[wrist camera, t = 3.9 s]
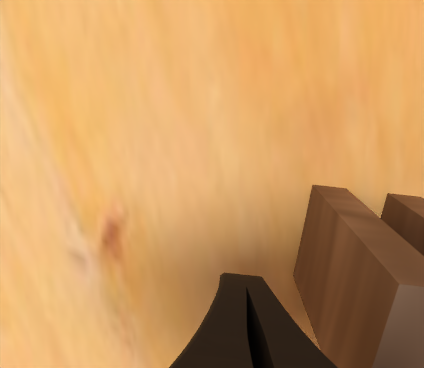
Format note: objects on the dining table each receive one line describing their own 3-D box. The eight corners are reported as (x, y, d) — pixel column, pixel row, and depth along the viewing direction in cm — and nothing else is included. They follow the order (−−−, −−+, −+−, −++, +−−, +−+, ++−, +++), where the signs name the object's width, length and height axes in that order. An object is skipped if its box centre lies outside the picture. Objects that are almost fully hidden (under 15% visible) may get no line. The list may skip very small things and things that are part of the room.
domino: (293, 275, 17) (350, 432, 10) (312, 184, 16) (399, 284, 8) (323, 279, 17) (405, 437, 10) (345, 188, 16) (464, 291, 8)
